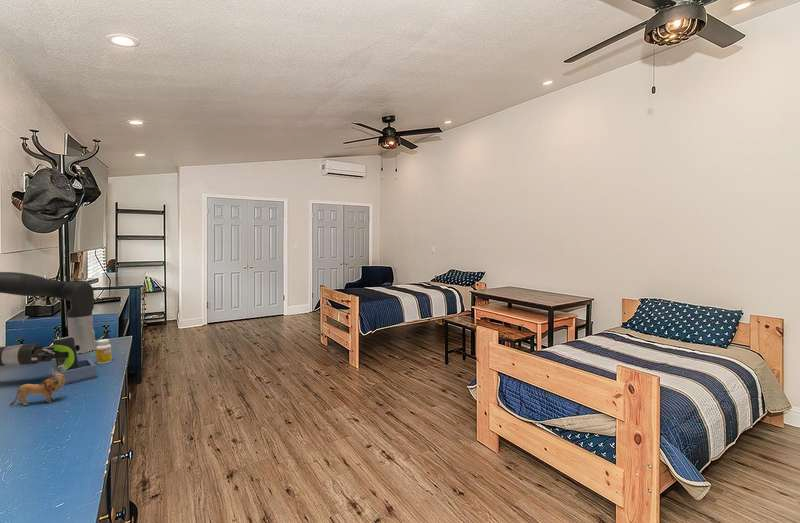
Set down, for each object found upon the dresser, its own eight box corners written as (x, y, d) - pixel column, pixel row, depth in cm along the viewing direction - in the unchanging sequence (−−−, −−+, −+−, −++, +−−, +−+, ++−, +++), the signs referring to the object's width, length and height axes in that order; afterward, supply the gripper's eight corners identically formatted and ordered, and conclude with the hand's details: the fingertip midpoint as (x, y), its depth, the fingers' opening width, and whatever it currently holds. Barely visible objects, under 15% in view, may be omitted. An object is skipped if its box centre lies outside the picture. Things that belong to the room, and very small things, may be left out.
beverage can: (81, 374, 151) (74, 335, 150) (60, 379, 146) (53, 340, 146) (78, 373, 155) (71, 335, 155) (58, 378, 150) (51, 340, 150)
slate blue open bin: (90, 370, 161) (90, 358, 161) (96, 377, 153) (95, 365, 153) (52, 378, 152) (51, 365, 152) (56, 386, 144) (55, 373, 144)
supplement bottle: (94, 363, 169) (92, 341, 169) (107, 359, 174) (105, 338, 174) (101, 364, 167) (100, 342, 167) (115, 360, 172) (113, 339, 172)
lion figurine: (68, 395, 137) (66, 370, 137) (64, 400, 133) (62, 375, 132) (12, 404, 130) (9, 377, 130) (5, 410, 126) (3, 383, 125)
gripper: (9, 350, 140) (64, 347, 145) (33, 339, 154) (82, 336, 158) (11, 371, 141) (65, 366, 146) (34, 358, 154) (83, 354, 159)
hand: (74, 351), depth 152 cm, fingers open, 8 cm apart
